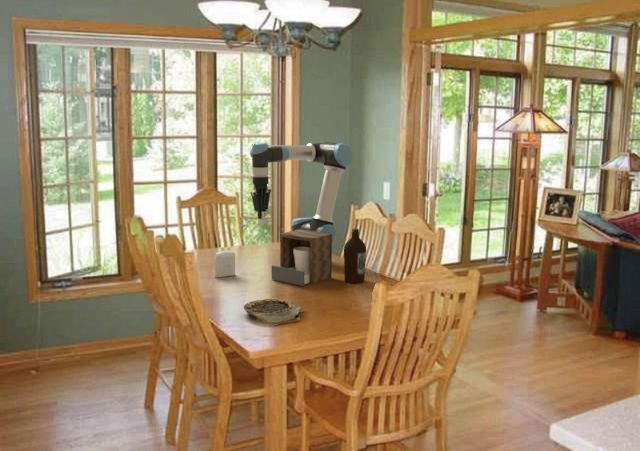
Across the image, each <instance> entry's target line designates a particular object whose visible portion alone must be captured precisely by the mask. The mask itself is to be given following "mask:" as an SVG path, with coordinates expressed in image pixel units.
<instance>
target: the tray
mask: <svg viewBox="0 0 640 451" xmlns="http://www.w3.org/2000/svg"><path fill="white" fill-rule="evenodd" d="M271 280H273V281H277V282H282V283H287V284H291V285H297V286H301V287H305V285H306V284H310V274H308V275H304V271H299V270H296V267H291V268H284V267H280V265H271Z"/></svg>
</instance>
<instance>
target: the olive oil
mask: <svg viewBox="0 0 640 451" xmlns="http://www.w3.org/2000/svg"><path fill="white" fill-rule="evenodd" d="M359 229H360V228H352V229H351V231H352V232H351V237H350V238H349V239H348V241H346V242H345V244H344V247H343V263H344V264H343V265H344V270H343V271H344V276H343V277H344V282H345V283H349V284H362V283H364V282H365V277H366V260H367V245H366V243H365V242H363V240H362V239H361V238H360V232H359V231H360V230H359Z"/></svg>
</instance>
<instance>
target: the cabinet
mask: <svg viewBox="0 0 640 451" xmlns="http://www.w3.org/2000/svg"><path fill="white" fill-rule="evenodd" d="M279 239H280V240H279V243H280V244H279V245H280V247H279V248H280V249H279V250H280V254H279V255H280V256H279V257H280V258H279V262H280V263H279V264H280V265H279V267H284V268H291V267H295V259H294V254H293V249H294V248H295V247H310V283H309V284H311V285H313V284H317V283H319V282H320V283H321V282H323V281H325V280H328V279H331V278H332V266H333V265H332V262H333V261H332V258H333V257H332V255H333V254H332V253H333V252H332V251H333V250H332V249H333V242H332V234H329V233H322V232H316V231H309V230H302V229H299V230H294V231H292V230H290V231H285V232H282V233H280V238H279Z"/></svg>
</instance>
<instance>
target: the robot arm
mask: <svg viewBox="0 0 640 451" xmlns="http://www.w3.org/2000/svg"><path fill="white" fill-rule="evenodd" d="M353 153H354V152H353V150H352V148H351V147H350V146H349V145H348V144H346V143H342V142H330V141H329V142H328V141H321V142H314V143H307V144H306V145H305V144H304V145H303V144H301V145H300V144H299V145H298V144H297V145H293V144H292V145H291V144H290V145H289V144H285V145H284V144H282V145H281V144H280V145H279V144H278V145H277V144H268V143H267V142H254V143H253V144H252V146H251V147H250V150H249V155H250V158H251V161H252V162H251V165H252V184H253V185H254V186H253V191H250V197H251V199H252V204H253V211H255V213H257V219H258V222H257V224H258V226H265V225H266V222H265V221H266V220H265V218H266V212H267V211H268V209H269V203H270V196H271V192H272V189H269V187H268V185H269V182H270V181H269V179H270V178H269V174H270V173H269V164H271V163H282V162H287V161H307V162H309V163H311V162H312V163H318V164H323V168H324V175H323V179H322V185H321V188H320V189H321V190H320V194H319V198H318V203H317V206H316V211H315V212H316V213H315V215H313V216H312V217H299V218H294V219H292V222H291V231H294V230H299V229H302V230H309V231H316V232H322V233H329V234H332V243H333V242H334V241H335V240H336V237H337V231H336V228H335V226H334V224H335V222H334V220H333V219H332V218H333V215H334V214H333V213H334V210H335V205H336V201H337V197H338V196H337V195H338V191H339V186H340V182H341V179H342V175H343V173H344V172H346V170H347V169H346V168H347V167H348V166H350V164H352V163H353V159H354V155H353Z"/></svg>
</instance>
